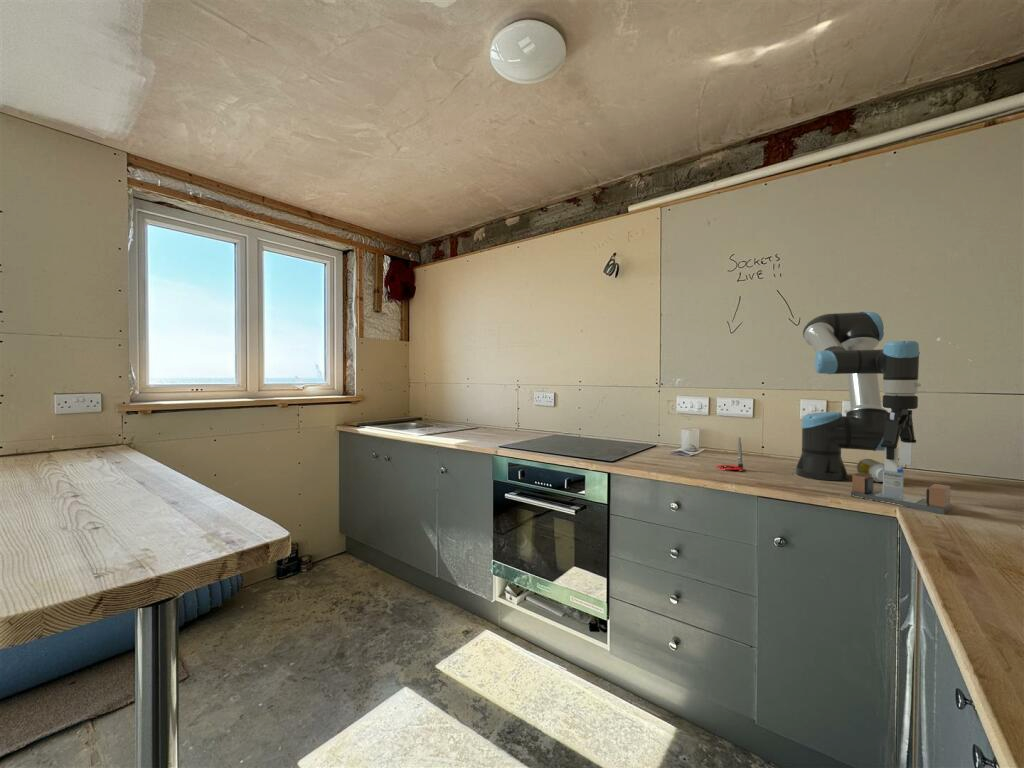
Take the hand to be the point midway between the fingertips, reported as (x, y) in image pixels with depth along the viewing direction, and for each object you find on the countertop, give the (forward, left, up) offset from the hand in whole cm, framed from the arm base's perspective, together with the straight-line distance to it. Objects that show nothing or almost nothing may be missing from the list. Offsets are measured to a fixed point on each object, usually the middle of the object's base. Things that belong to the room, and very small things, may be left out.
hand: (898, 467), depth 122 cm
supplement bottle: (-16, +32, -7) cm, 36 cm away
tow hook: (-51, +3, -11) cm, 52 cm away
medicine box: (-1, 0, -9) cm, 9 cm away
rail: (0, 0, -10) cm, 10 cm away
